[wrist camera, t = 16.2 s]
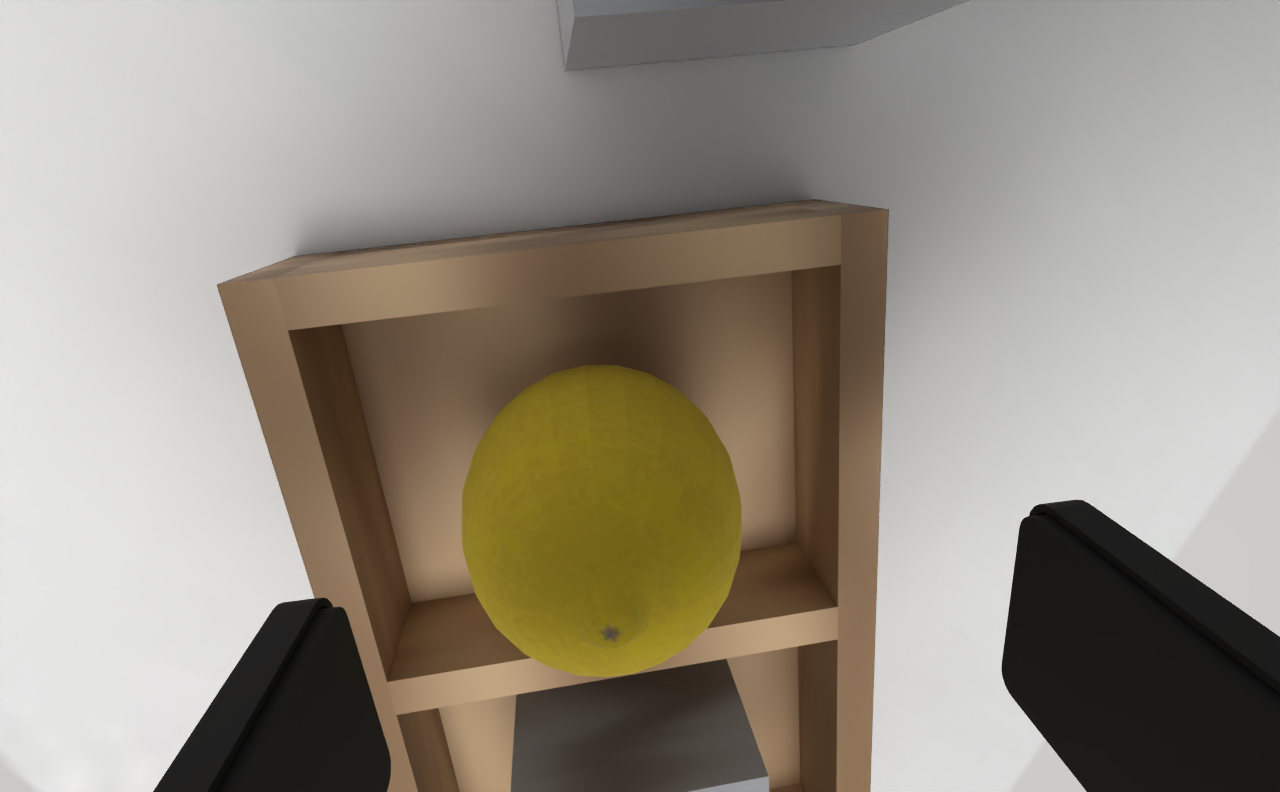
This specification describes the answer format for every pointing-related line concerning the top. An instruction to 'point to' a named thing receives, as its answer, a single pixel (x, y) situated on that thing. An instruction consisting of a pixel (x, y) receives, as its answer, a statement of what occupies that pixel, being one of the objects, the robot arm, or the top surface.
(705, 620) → the lemon
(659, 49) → the mount
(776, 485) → the caddy
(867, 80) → the top surface
